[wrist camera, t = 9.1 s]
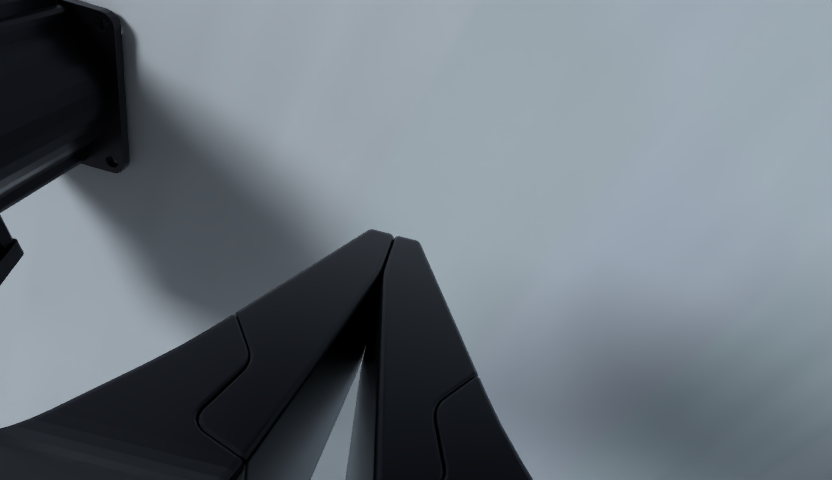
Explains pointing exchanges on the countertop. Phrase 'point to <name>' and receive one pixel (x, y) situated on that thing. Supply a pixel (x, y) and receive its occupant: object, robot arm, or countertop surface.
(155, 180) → the countertop surface
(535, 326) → the countertop surface
